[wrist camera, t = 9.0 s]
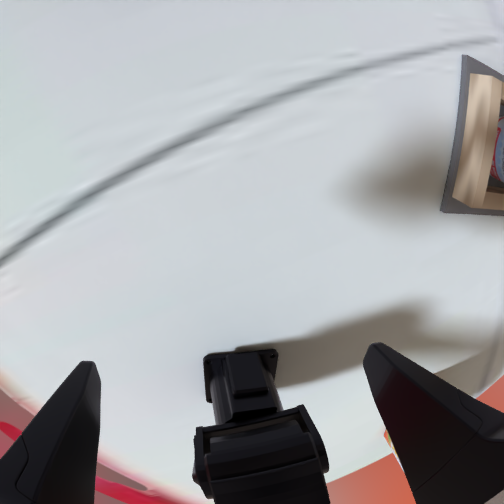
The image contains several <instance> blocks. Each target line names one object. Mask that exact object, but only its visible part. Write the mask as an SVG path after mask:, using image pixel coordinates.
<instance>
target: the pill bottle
mask: <svg viewBox="0 0 504 504" xmlns="http://www.w3.org/2000/svg"><path fill="white" fill-rule="evenodd" d="M490 176H492V177H494V178H496V179H497V180H500V181H502V182H504V116H500V117H499V120H498V128H497V135H496V142H495V148H494V154H493V159H492V165H491V170H490Z"/></svg>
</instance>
